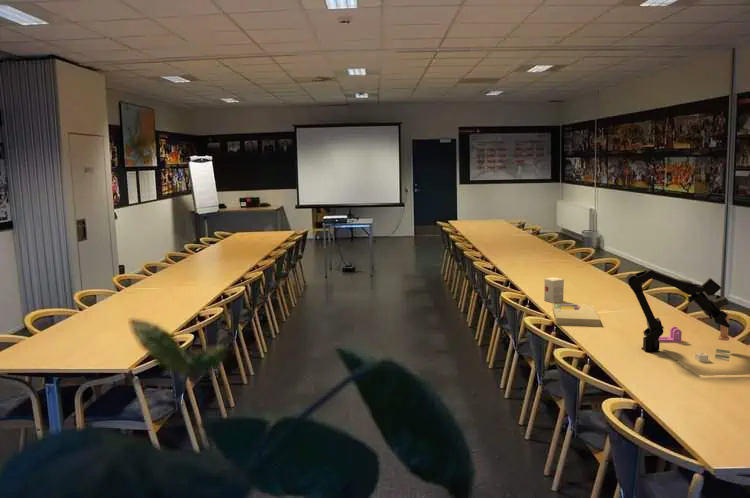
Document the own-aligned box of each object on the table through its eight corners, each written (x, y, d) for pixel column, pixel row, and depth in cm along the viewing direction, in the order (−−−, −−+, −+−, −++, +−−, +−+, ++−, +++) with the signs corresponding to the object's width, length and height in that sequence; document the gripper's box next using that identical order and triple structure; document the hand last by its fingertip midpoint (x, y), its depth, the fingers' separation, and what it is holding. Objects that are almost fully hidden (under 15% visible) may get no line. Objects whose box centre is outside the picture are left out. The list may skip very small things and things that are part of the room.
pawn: (725, 341, 302) (726, 313, 300) (716, 338, 306) (717, 311, 304) (731, 339, 304) (732, 312, 302) (722, 337, 308) (723, 310, 306)
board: (729, 364, 290) (729, 362, 290) (713, 362, 294) (713, 360, 293) (730, 352, 307) (731, 350, 307) (715, 350, 311) (715, 348, 310)
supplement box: (543, 300, 422) (543, 278, 420) (554, 299, 426) (554, 276, 423) (552, 303, 414) (553, 280, 412) (563, 301, 418) (564, 279, 415)
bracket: (677, 339, 330) (678, 326, 329) (681, 342, 325) (681, 329, 324) (651, 339, 332) (651, 326, 331) (654, 342, 326) (654, 329, 325)
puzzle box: (555, 325, 363) (600, 327, 358) (555, 317, 362) (600, 319, 357) (552, 310, 398) (593, 311, 393) (552, 303, 397) (593, 304, 392)
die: (699, 364, 292) (699, 355, 291) (694, 361, 296) (695, 352, 295) (707, 363, 292) (708, 355, 291) (703, 361, 296) (704, 352, 295)
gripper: (724, 295, 293) (748, 319, 293) (711, 287, 311) (735, 309, 311) (704, 311, 296) (729, 335, 295) (693, 302, 314) (716, 325, 313)
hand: (727, 326), depth 304 cm, fingers closed on pawn, 3 cm apart
